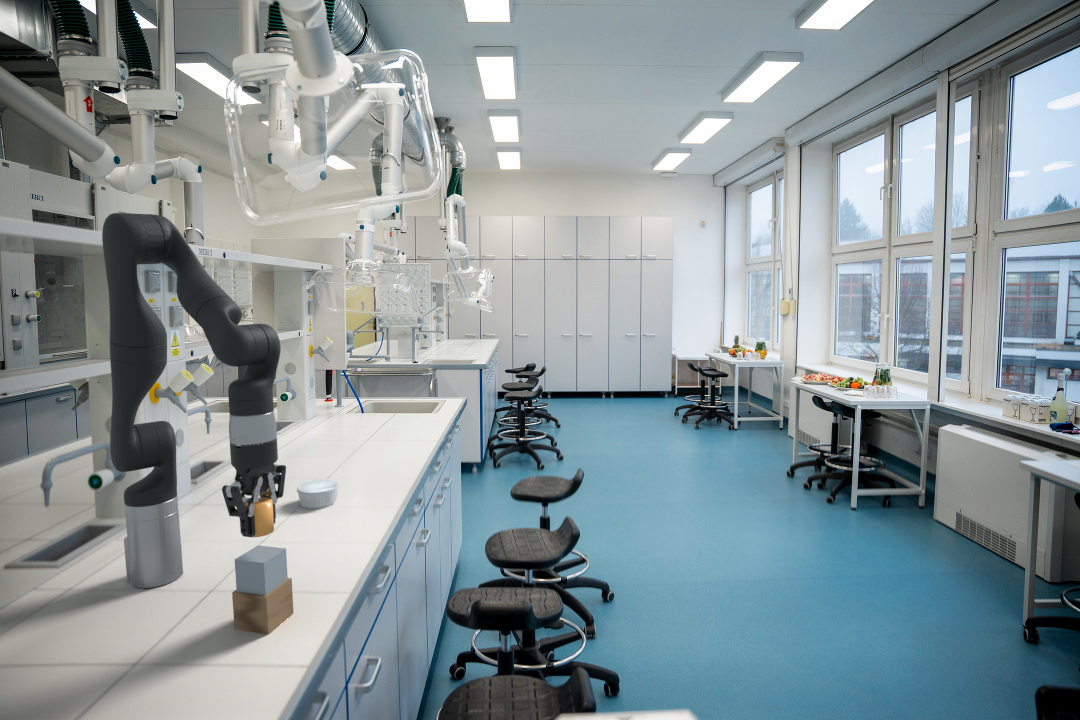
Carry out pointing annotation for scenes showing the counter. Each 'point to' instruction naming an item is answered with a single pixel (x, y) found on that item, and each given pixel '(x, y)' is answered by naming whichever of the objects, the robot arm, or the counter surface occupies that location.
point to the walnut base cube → (263, 609)
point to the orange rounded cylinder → (263, 517)
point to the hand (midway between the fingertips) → (259, 529)
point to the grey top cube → (261, 570)
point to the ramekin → (318, 493)
